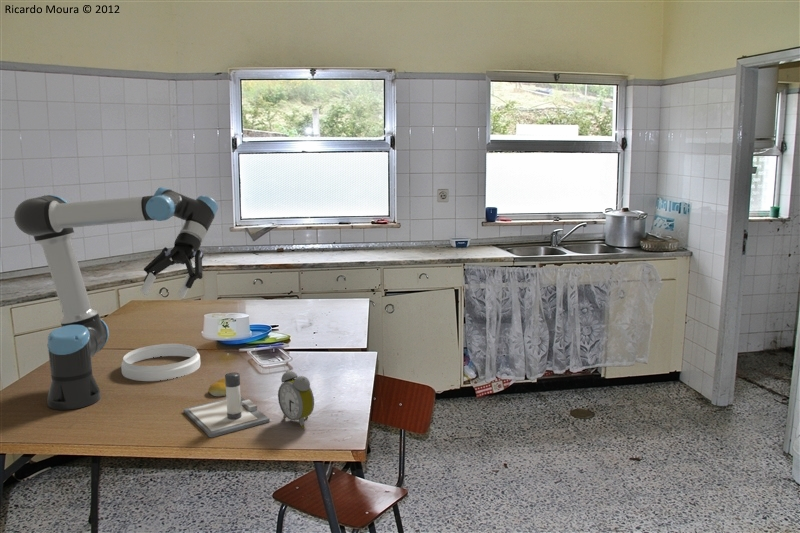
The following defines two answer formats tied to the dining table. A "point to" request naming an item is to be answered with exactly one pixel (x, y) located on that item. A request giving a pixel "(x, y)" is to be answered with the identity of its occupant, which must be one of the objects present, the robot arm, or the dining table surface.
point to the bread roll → (218, 388)
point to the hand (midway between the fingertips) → (161, 294)
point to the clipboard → (224, 417)
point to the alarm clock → (295, 397)
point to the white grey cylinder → (233, 395)
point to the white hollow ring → (163, 370)
